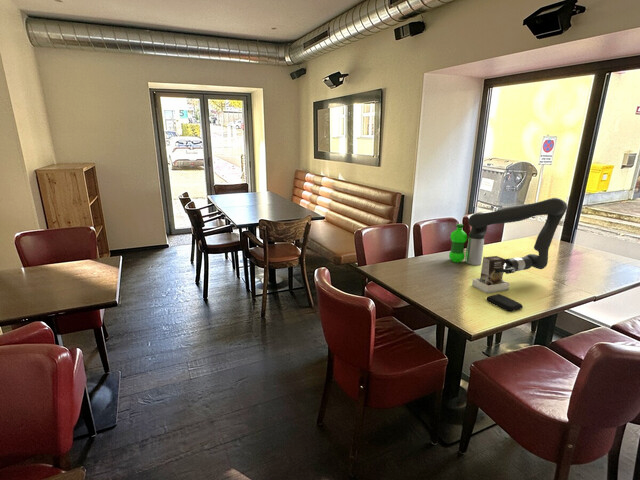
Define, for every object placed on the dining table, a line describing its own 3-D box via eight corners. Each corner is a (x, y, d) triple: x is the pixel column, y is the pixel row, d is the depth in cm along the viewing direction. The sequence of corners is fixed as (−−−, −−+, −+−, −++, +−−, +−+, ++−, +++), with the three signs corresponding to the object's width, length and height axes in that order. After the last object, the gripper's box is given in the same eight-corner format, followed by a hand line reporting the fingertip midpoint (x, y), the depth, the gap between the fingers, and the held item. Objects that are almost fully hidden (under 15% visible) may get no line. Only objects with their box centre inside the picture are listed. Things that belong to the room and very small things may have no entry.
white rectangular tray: (472, 285, 193) (472, 279, 192) (492, 282, 197) (493, 275, 196) (487, 293, 183) (488, 286, 181) (508, 290, 187) (509, 283, 186)
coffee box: (487, 289, 185) (491, 260, 181) (479, 284, 191) (482, 256, 187) (501, 287, 188) (505, 258, 183) (492, 283, 194) (496, 255, 189)
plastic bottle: (467, 263, 228) (471, 226, 221) (450, 263, 228) (454, 226, 222) (461, 258, 238) (465, 222, 231) (445, 258, 238) (449, 222, 231)
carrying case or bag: (526, 309, 166) (499, 297, 179) (527, 303, 165) (500, 292, 178) (509, 313, 162) (484, 301, 175) (510, 307, 161) (484, 295, 174)
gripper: (503, 254, 197) (480, 257, 192) (525, 262, 184) (501, 265, 179) (502, 267, 199) (479, 270, 194) (523, 275, 186) (499, 279, 181)
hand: (489, 268), depth 186 cm, fingers open, 8 cm apart
